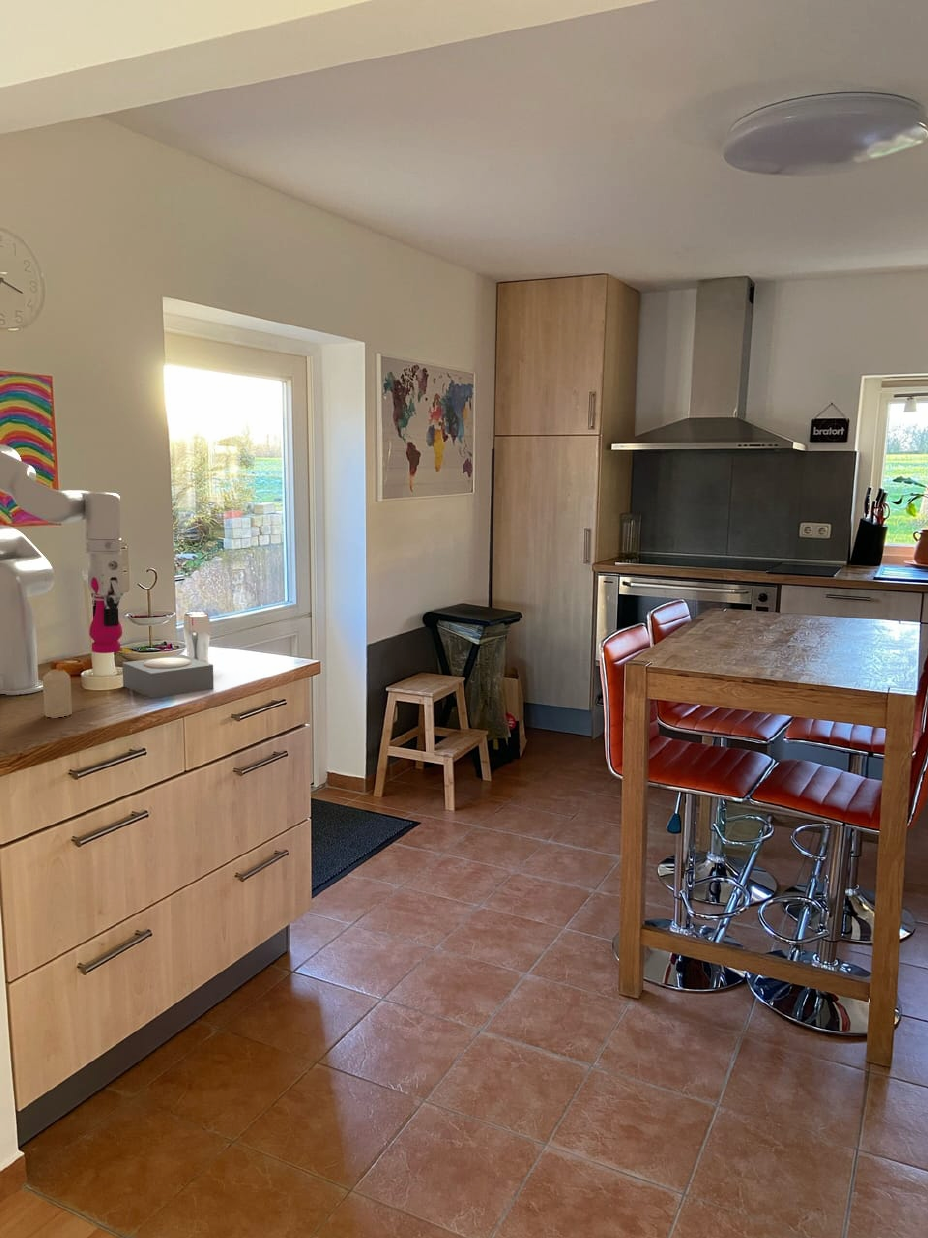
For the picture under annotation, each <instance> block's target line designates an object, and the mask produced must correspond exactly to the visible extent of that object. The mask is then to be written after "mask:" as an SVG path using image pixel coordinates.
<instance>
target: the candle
mask: <svg viewBox="0 0 928 1238" xmlns="http://www.w3.org/2000/svg"><path fill="white" fill-rule="evenodd" d="M42 681H43V690H42V691H43V707H44V709H43V710H44V711H43V712H44V716H46V717H45V718H47V717H51V718H50V719H59V718H58V717H63V718H65V717H64V716H67V717H69V716H68V715H70V714H73V702H72V685H71V684H72V683H71V675H70V674H69V673H68V672H66V671H65V670H64V669H62V670H58V669H56V668H55V669H51V670H49V672H47V673H46V674H44V676H43V677H42ZM70 716H71V715H70Z"/></svg>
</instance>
